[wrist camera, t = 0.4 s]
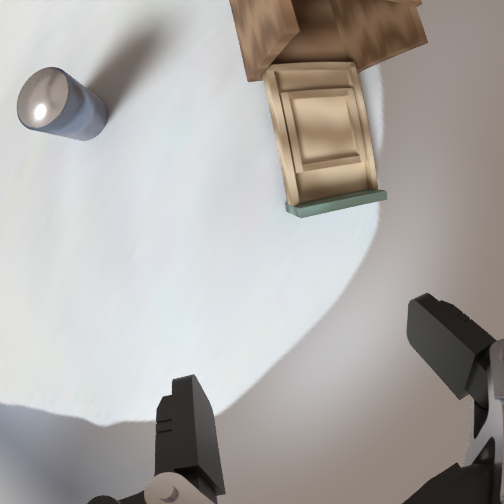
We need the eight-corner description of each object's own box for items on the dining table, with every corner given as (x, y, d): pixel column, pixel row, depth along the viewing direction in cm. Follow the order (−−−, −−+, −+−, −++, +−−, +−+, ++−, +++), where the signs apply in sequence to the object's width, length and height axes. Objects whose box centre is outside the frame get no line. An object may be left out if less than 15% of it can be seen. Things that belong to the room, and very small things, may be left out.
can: (60, 109, 28) (10, 89, 17) (99, 88, 29) (61, 54, 17) (73, 148, 30) (23, 142, 18) (113, 127, 30) (77, 108, 19)
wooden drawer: (259, 73, 32) (270, 59, 27) (342, 68, 33) (362, 58, 28) (286, 211, 37) (301, 218, 32) (365, 194, 38) (387, 199, 33)
